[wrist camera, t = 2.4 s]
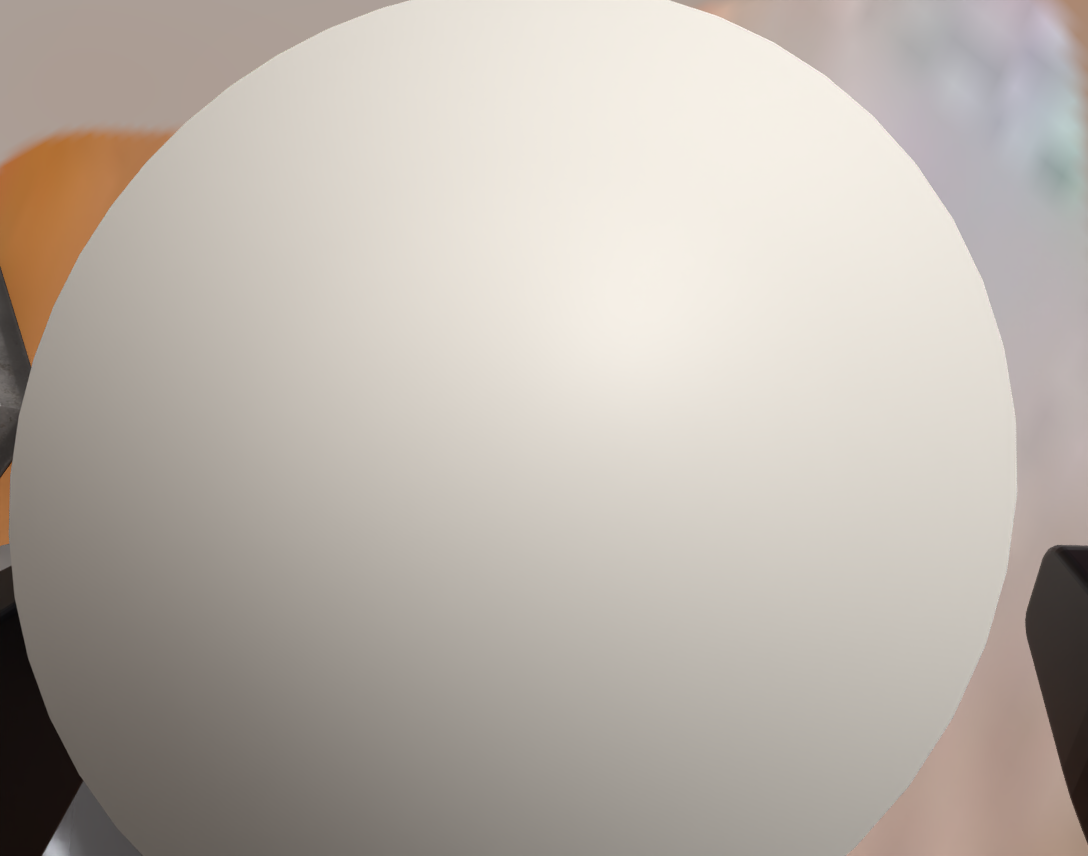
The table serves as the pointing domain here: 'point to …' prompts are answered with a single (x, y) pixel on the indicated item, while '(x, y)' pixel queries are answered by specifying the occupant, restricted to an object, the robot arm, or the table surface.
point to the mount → (83, 813)
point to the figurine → (10, 376)
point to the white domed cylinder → (515, 453)
